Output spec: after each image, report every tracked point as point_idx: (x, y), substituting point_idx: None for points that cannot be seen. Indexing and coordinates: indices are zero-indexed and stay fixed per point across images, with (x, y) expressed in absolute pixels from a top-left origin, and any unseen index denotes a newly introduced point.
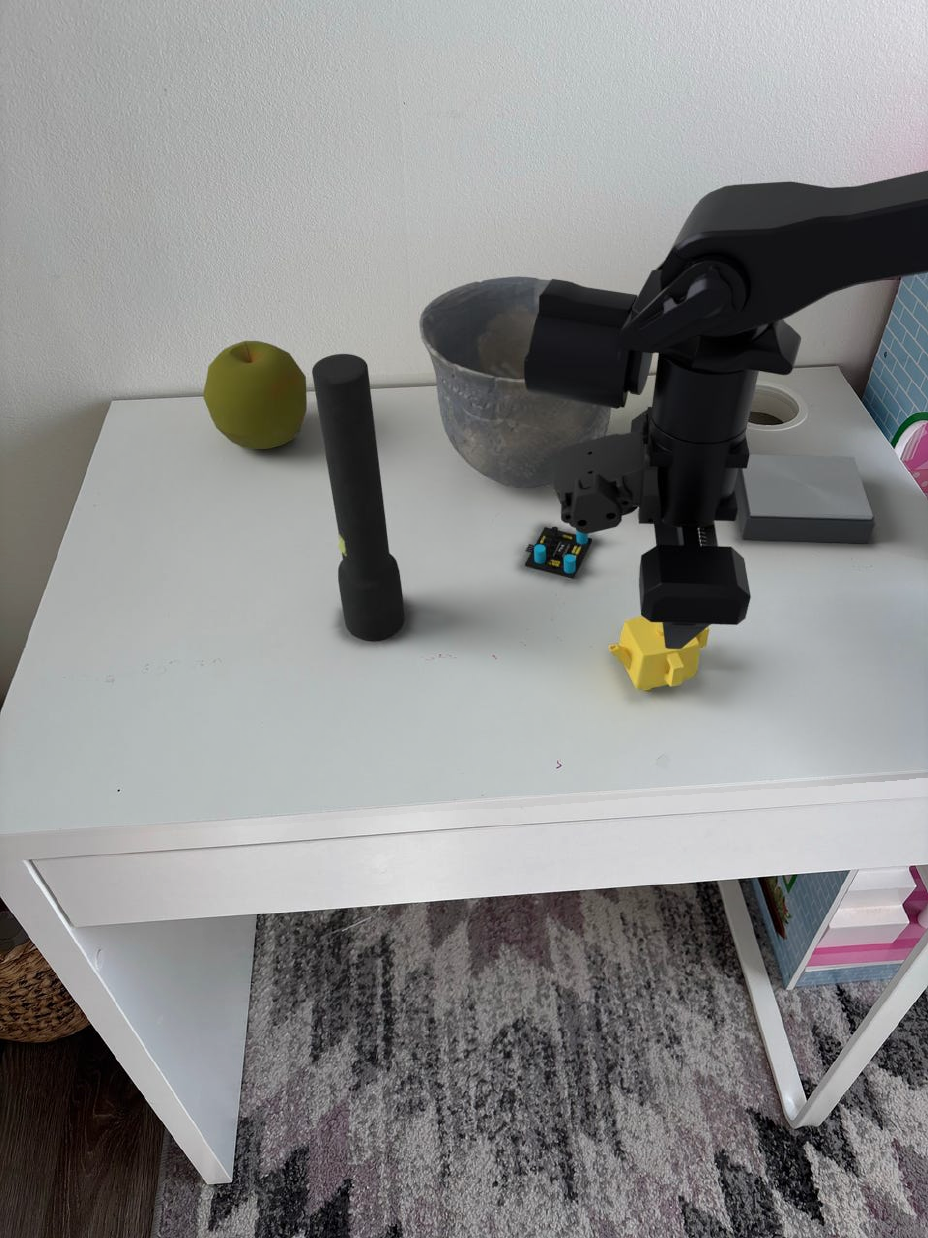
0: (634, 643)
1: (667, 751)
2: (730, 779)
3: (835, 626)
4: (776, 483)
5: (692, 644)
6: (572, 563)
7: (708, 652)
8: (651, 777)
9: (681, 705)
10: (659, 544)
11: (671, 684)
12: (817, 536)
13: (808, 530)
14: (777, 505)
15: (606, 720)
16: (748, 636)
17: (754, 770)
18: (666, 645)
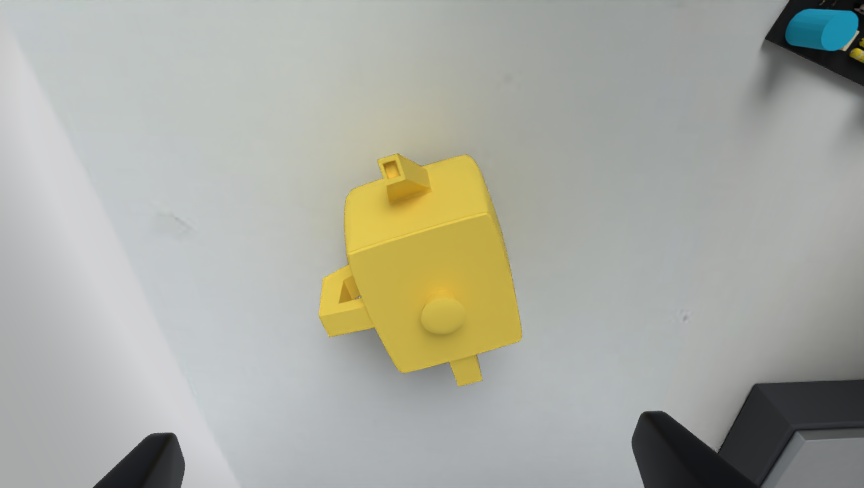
0: (402, 231)
1: (201, 236)
2: (163, 334)
3: (523, 476)
4: (861, 476)
5: (398, 361)
6: (814, 39)
7: None
8: (117, 202)
9: (333, 267)
10: (677, 466)
11: (323, 282)
12: None
13: None
14: (802, 474)
15: (262, 109)
16: (513, 378)
17: (196, 368)
18: (128, 455)
